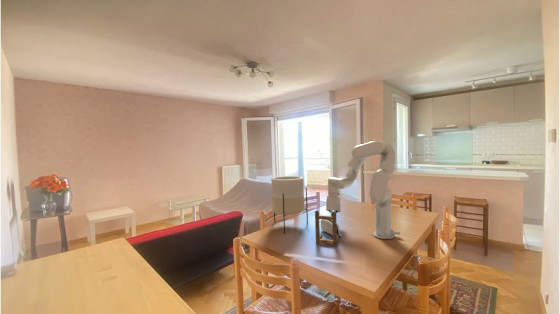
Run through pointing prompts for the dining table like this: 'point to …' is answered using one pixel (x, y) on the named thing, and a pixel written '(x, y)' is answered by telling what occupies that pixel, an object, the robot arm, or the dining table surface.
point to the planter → (288, 196)
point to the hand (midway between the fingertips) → (333, 219)
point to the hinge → (329, 227)
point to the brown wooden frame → (319, 235)
